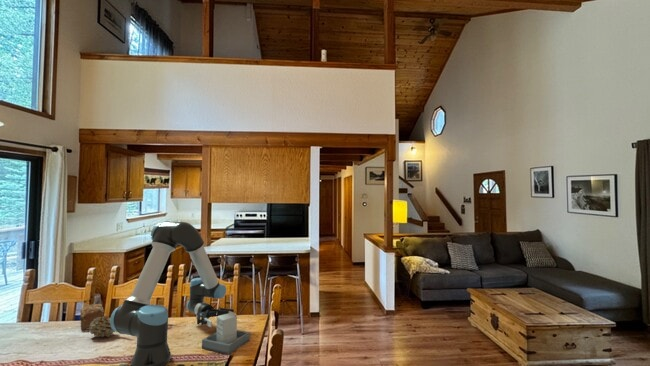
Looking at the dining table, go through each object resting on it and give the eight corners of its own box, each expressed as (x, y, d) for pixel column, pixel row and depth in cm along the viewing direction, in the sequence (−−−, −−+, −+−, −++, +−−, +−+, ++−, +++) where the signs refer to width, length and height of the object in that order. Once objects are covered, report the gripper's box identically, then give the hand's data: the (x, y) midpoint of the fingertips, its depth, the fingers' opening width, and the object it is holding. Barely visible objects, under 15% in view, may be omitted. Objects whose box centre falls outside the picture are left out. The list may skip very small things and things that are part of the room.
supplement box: (229, 337, 158) (230, 312, 159) (236, 342, 153) (237, 316, 154) (215, 342, 153) (216, 316, 154) (222, 347, 148) (223, 320, 149)
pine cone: (82, 340, 157) (83, 320, 158) (96, 332, 167) (97, 313, 168) (124, 340, 157) (125, 320, 158) (136, 333, 166) (137, 314, 167)
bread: (103, 326, 175) (104, 308, 176) (79, 331, 169) (80, 312, 170) (102, 317, 190) (102, 300, 191) (79, 321, 184) (80, 303, 184)
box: (201, 348, 149) (202, 339, 149) (224, 335, 163) (224, 327, 164) (228, 354, 143) (228, 345, 143) (249, 340, 157) (249, 332, 158)
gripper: (224, 311, 180) (245, 321, 166) (181, 323, 162) (199, 335, 147) (225, 298, 181) (245, 306, 166) (181, 309, 162) (199, 319, 148)
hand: (223, 320), depth 157 cm, fingers open, 13 cm apart
